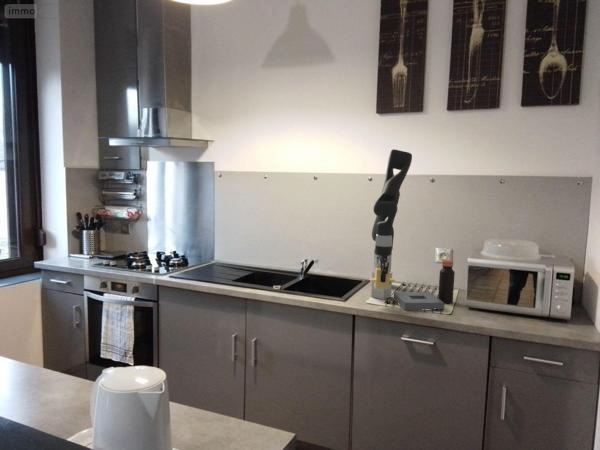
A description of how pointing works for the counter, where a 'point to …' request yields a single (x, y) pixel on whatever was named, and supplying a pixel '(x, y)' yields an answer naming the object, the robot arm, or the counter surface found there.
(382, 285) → the servo block
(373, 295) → the supplement box
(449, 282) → the bottle
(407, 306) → the plate
